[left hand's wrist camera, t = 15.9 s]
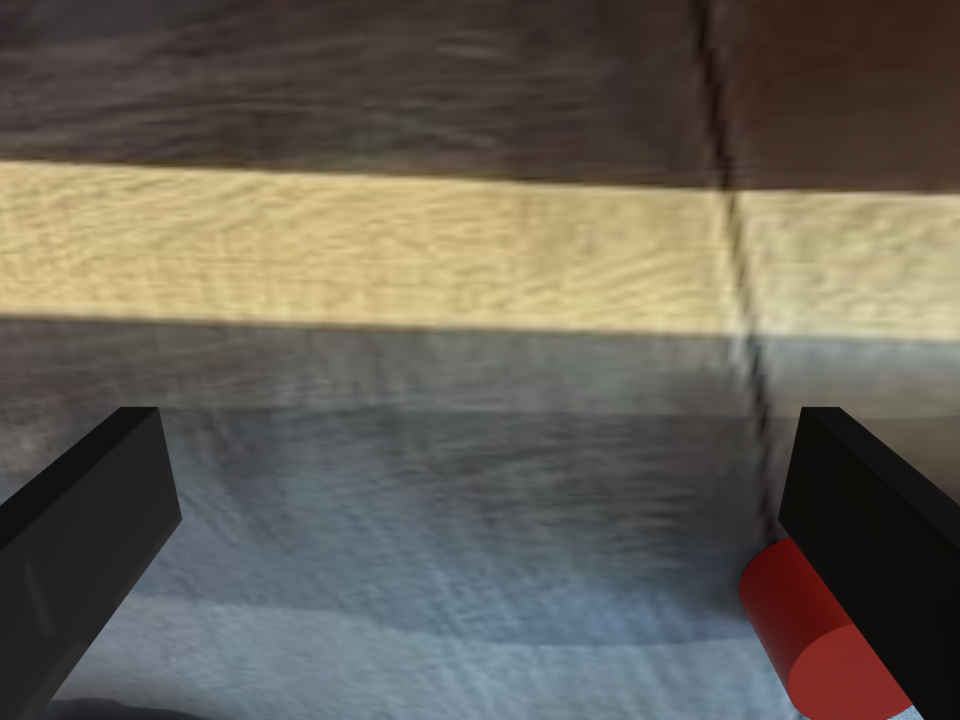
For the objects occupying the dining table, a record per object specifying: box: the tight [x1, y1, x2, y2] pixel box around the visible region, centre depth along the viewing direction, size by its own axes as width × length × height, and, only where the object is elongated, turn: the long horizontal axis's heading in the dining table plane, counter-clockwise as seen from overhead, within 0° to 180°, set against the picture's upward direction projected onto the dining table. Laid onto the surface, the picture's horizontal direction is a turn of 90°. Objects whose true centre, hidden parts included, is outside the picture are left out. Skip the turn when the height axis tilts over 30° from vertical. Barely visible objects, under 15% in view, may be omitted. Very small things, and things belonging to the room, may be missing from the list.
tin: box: [739, 538, 913, 720], centre depth 42 cm, size 9×9×8 cm
